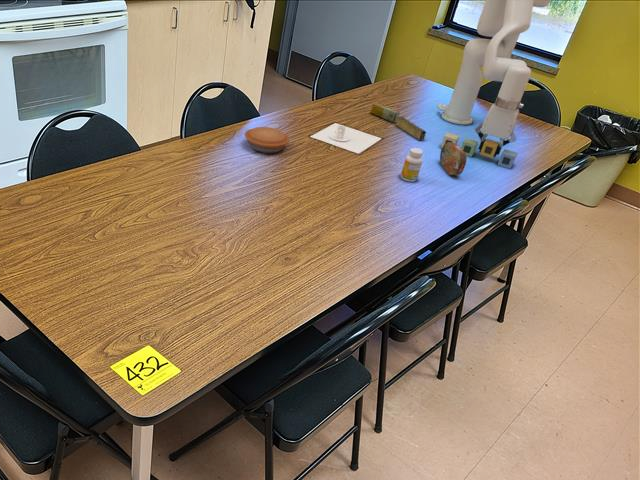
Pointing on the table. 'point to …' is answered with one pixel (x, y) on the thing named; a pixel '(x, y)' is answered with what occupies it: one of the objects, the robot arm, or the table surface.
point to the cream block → (450, 139)
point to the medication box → (385, 112)
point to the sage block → (469, 146)
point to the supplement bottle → (412, 165)
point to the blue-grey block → (507, 158)
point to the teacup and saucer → (346, 138)
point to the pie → (266, 139)
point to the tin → (453, 158)
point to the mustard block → (489, 148)
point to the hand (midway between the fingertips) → (487, 153)
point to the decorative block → (410, 128)
